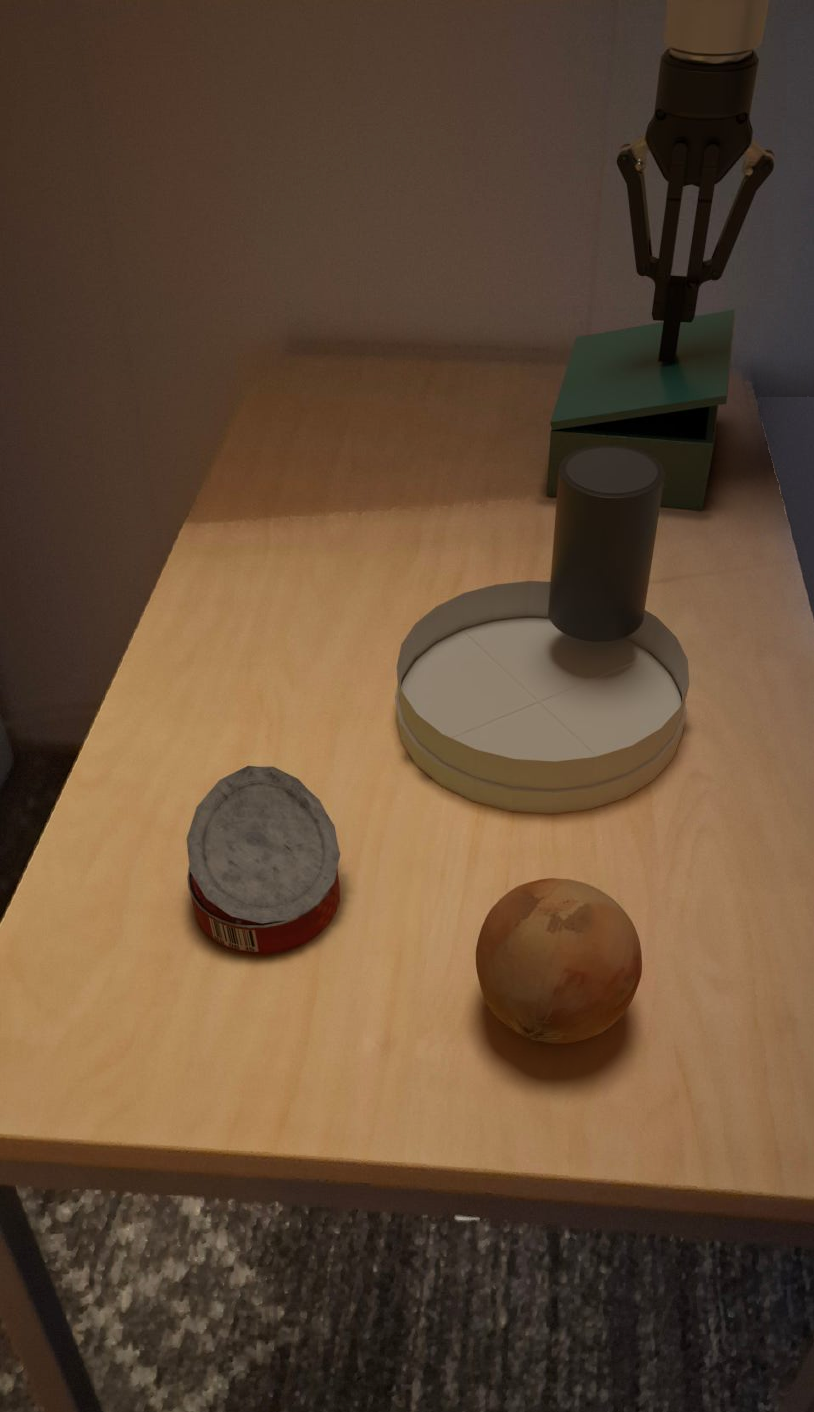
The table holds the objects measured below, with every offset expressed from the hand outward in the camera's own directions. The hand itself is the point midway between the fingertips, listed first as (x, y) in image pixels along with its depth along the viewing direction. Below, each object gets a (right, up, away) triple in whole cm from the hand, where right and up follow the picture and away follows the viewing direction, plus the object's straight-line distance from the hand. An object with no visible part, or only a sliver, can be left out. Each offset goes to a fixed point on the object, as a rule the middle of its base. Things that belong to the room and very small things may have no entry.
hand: (667, 355), depth 108 cm
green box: (-2, -7, +8) cm, 11 cm away
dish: (-14, -36, -17) cm, 42 cm away
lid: (-2, -1, +2) cm, 2 cm away
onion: (-15, -57, -36) cm, 68 cm away
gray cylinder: (-9, -28, -17) cm, 34 cm away
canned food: (-33, -50, -29) cm, 67 cm away
